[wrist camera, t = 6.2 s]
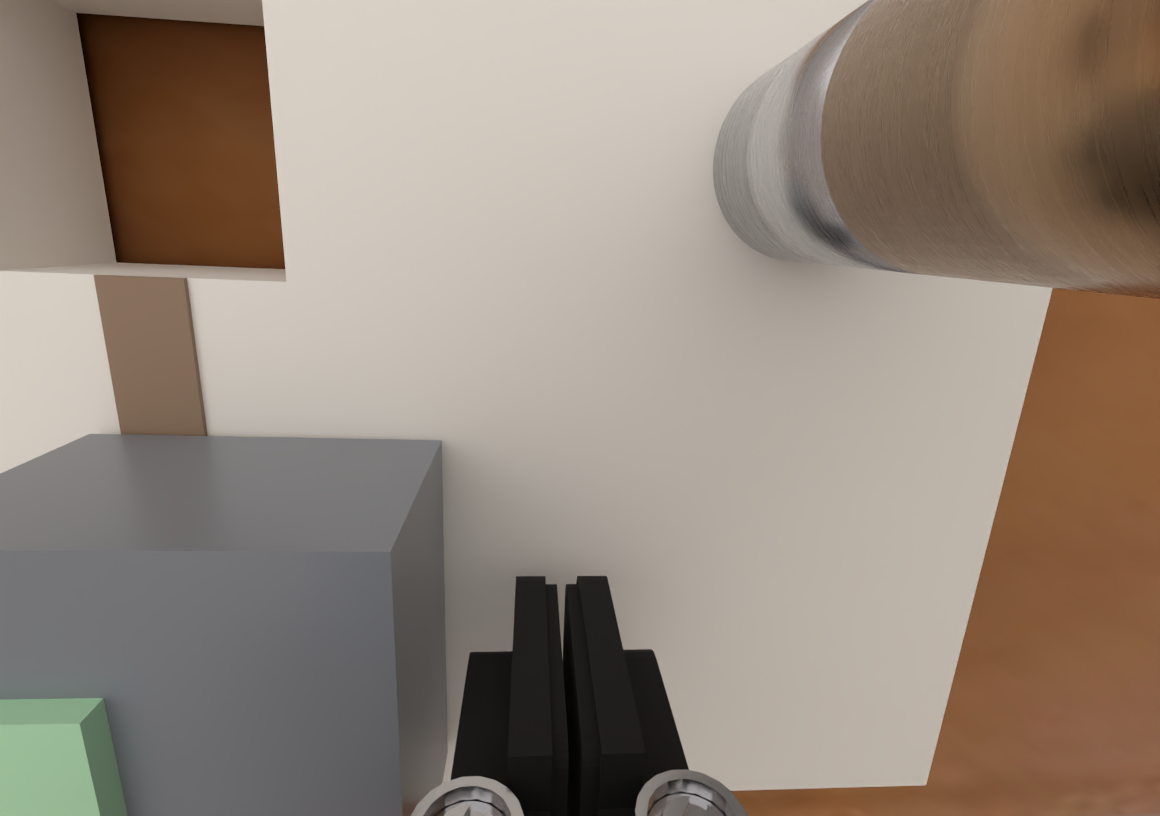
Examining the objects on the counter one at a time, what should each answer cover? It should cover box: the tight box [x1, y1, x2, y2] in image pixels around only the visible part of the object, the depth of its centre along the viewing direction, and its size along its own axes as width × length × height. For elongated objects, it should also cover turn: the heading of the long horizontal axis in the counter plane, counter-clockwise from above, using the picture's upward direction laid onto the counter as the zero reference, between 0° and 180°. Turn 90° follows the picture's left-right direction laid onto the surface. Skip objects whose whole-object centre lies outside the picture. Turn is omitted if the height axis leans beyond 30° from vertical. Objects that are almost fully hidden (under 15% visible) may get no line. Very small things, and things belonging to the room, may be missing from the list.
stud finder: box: [0, 434, 448, 816], centre depth 10 cm, size 6×7×4 cm
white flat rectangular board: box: [0, 0, 1053, 791], centre depth 12 cm, size 22×18×3 cm
